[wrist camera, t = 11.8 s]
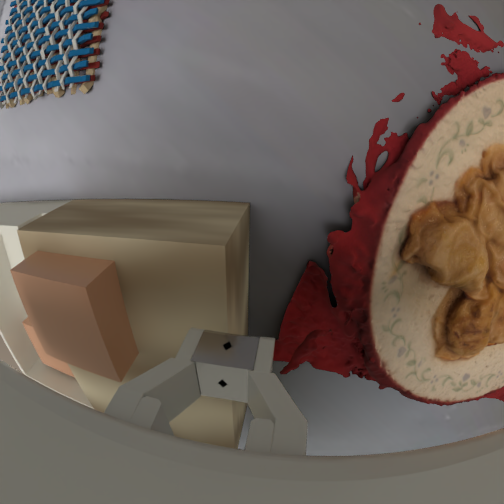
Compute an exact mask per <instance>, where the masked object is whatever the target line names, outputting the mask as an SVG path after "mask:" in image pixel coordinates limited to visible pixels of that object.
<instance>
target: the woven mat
mask: <svg viewBox="0 0 504 504" xmlns="http://www.w3.org/2000/svg"><path fill="white" fill-rule="evenodd" d="M108 4H109V0H16V1H13V2H11V4H10V6H11V7H12V6H15V7H14V8H13V9H12V10H11V12H10V15H9V16H12V15H13V16H12V17H11V18H10V19H9V20H6V23H5V24H6V25H7V24H9V26H8V27H7V28H6V31H5V34H7V33H8V34H7V35H6V37H5V38H3V39H2V40H1V43H4V45H5V46H3V47H2V50H1V53H3V55H2V57H1V58H0V63H1V64H2V66H0V72H1V71H2V74H1V76H0V83H1V84H2V86H0V93H1V94H0V107H1V109H2V108H3V107H4V106H5V104H6V108H9V106H10V107H11V108H13V107H14V106H15V105H16V104H17V103H18V100H20V105H22V104H25V103H27V104H28V103H29V102H30V101H31V100H32V99H34V100H36V99H37V98H38V97H40V96H43V94H44V91H45V93H47V94H52V93H53V94H54V95H55V96H56V97H58V98H60V97H61V96H62V95H63V94H64V93H65V91H64V89H65V87H67V86H69V85H70V86H69V88H71V94H75V93H76V87H77V84H79V83H82V85H81V86H80V88H79V90H81V91H82V92H83V93H84V94H85V93H86V92H87V91H89V89H90V88H91V87H92V85H93V82H94V81H95V75H94V74H95V68H99V65H100V61H99V62H96V60H97V55H100V49H99V42H100V41H101V37H102V36H101V32H102V29H103V26H104V23H102V20H104V19H105V18H107V17H108V14H109V12H107V11H106V9H107V5H108ZM13 13H14V14H13ZM88 22H89V23H88ZM65 28H67V29H65ZM91 31H92V33H89V34H86V33H88V32H91ZM89 44H90V48H84V47H85V46H86V45H89ZM24 45H25V46H24ZM40 48H41V50H40ZM81 48H84V49H81ZM16 49H17V50H16ZM33 51H34V52H33ZM59 52H60V53H59ZM31 53H32V54H31ZM84 57H88V60H84V61H81V58H84ZM16 58H17V60H16ZM40 59H41V60H40ZM69 61H71V62H70V63H69ZM57 64H58V65H57ZM46 68H47V70H46ZM14 69H15V70H14ZM85 69H86V75H80V76H79V71H80V70H85ZM13 70H14V71H13ZM12 71H13V72H12ZM29 73H30V75H29ZM68 73H69V74H70V77H67V75H68ZM13 79H14V82H13ZM43 80H45V81H44V83H43ZM35 93H37V94H36V95H35ZM2 95H3V96H2ZM2 102H3V105H2Z"/></svg>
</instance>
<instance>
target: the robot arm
mask: <svg viewBox="0 0 504 504" xmlns="http://www.w3.org/2000/svg"><path fill="white" fill-rule="evenodd" d="M274 346H275V338H270V337H257V336H247V335H239V334H230V333H223V332H217V331H211V330H203V329H198V328H193V327H192V328H191V329H189V331H188V333H187V335H186V337H185V339H184V341H183V343H182V345H181V347H180V349H179V351H178V353H177V355H176V357H175V358H169V359H168V360H166V361H164V362H162V363H161V364H159V365H157V366H155V367H154V368H152V369H150V370H148V371H147V372H145V373H143V374H141V375H139V376H138V377H136V378H134V379H132V380H130V381H128V382H127V383H125V384H123V385H121V386H119V388H118V390H117V391H116V393H115V395H114V396H113V398H112V400H111V401H110V403H109V405H108V406H107V408H106V410H105V412H104V413H102V412H100V411H97V410H95V409H93V408H90V407H88V406H86V405H83V404H81V403H79V402H77V401H74V400H72V399H70V398H68V397H66V396H64V395H62V394H60V393H58V392H56V391H54V390H52V389H50V388H48V387H46V386H44V385H42V384H40V383H39V382H37V381H35V380H33V379H32V378H30V377H28V376H26V375H25V374H23V373H21V372H20V371H18V370H16V369H15V368H13V367H12V366H10V365H8V364H7V363H5V362H4V361H2V360H1V359H0V504H504V428H503V429H500V430H497V431H494V432H490V433H487V434H484V435H481V436H477V437H473V438H470V439H466V440H462V441H458V442H454V443H449V444H445V445H440V446H435V447H429V448H423V449H417V450H411V451H403V452H395V453H385V454H374V455H357V456H306V443H307V420H306V419H305V417H304V416H303V414H302V413H301V411H300V410H299V409H298V407H297V406H296V404H295V403H294V401H293V400H292V398H291V397H290V395H289V394H288V392H287V391H286V389H285V388H284V386H283V385H282V383H281V382H280V380H279V379H278V377H277V376H276V374H275V373H272V366H273V356H274ZM200 395H202V396H208V397H215V398H222V399H228V400H233V401H239V402H245V403H248V406H249V408H250V410H251V412H252V414H253V416H254V419H253V420H252V421H251V423H250V428H249V433H248V437H247V442H246V446H245V450H241V449H234V448H228V447H222V446H217V445H212V444H207V443H202V442H197V441H193V440H188V439H184V438H180V437H176V436H174V434H173V431H172V429H171V426H170V424H169V422H170V421H171V420H173V419H174V418H175V417H176V416H178V415H179V414H180V413H181V412H183V411H184V410H185V409H186V408H187V407H189V406H190V405H191V404H192V403H194V402H195V401H196V400H197V399H198V398H199V397H201V396H200Z"/></svg>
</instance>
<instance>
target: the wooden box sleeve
mask: <svg viewBox="0 0 504 504" xmlns="http://www.w3.org/2000/svg"><path fill="white" fill-rule="evenodd" d="M249 219H250V203H243V202H223V201H198V200H162V199H81V200H72V201H70V202H68V203H66V204H64V205H62V206H60V207H58V208H56V209H54V210H52V211H51V212H49V213H47V214H45V215H43V216H41V217H39V218H38V219H36V220H34V221H32V222H30V223H29V224H27V225H25V226H23V227H22V228H20V229H18V230H17V233H18V237H19V241H20V245H21V248H22V252H23V255H24V259H26V258H28V257H29V256H30V255H32V254H33V253H35V252H36V251H44V252H51V253H58V254H65V255H73V256H81V257H88V258H96V259H104V260H112V261H115V266H116V271H117V275H118V280H119V284H120V288H121V292H122V296H123V300H124V304H125V308H126V312H127V315H128V319H129V322H130V326H131V329H132V333H133V336H134V339H135V343H136V346H137V349H138V352H139V354H138V355H137V357H136V359H135V360H134V362H133V364H132V365H131V367H130V368H129V370H128V372H127V373H126V375H125V377H124V378H123V380H122V382H117V381H114V380H111V379H108V378H105V377H103V376H100V375H97V374H94V373H91V372H89V371H86V370H83V369H81V368H78V367H76V366H73V365H71V364H68V363H67V364H68V366H69V367H70V369H71V371H72V373H73V375H74V377H75V378H76V380H77V382H78V384H79V385H80V387H81V389H82V390H83V392H84V394H85V395H86V397H87V399H88V400H89V402H90V403H91V405H92V406H93V408H94V409H95V410H97V411H100V412H102V413H104V412H105V410H106V408H107V406H108V405H109V403H110V401H111V400H112V398H113V396H114V395H115V393H116V391H117V390H118V388H119V386H121V385H123V384H125V383H127V382H128V381H130V380H132V379H134V378H136V377H138V376H139V375H141V374H143V373H145V372H147V371H148V370H150V369H152V368H154V367H155V366H157V365H159V364H161V363H162V362H164V361H166V360H168V359H169V358H175V357H176V355H177V353H178V351H179V349H180V347H181V345H182V343H183V341H184V339H185V337H186V335H187V333H188V331H189V329H191V328H192V327H193V328H198V329H203V330H211V331H217V332H223V333H230V334H239V335H247V336H248V290H249ZM200 396H201V397H199V398H198V399H197V400H196V401H195V402H194V403H192V404H191V405H190V406H189V407H187V408H186V409H185V410H184V411H183V412H181V413H180V414H179V415H178V416H176V417H175V418H174V419H173V420H171V421H170V422H169V424H170V426H171V429H172V431H173V434H174V436H176V437H180V438H184V439H188V440H193V441H197V442H202V443H207V444H212V445H217V446H222V447H228V448H234V449H238V444H239V440H240V435H241V430H242V426H243V421H244V417H245V412H246V407H247V403H245V402H239V401H233V400H228V399H222V398H215V397H208V396H202V395H200Z"/></svg>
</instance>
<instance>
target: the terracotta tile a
mask: <svg viewBox="0 0 504 504" xmlns="http://www.w3.org/2000/svg"><path fill="white" fill-rule="evenodd" d="M22 323H23V326H24V328H25V330H26V332H27V334H28V336H29V338H30V340H31V342H32V344H33V346H34V348H35V350H36V352H37V353H38V355H39V357H40V359H41V361H42V362H43V363H44V364H46V365H48V366H50V367H52V368H54V369H56V370H59V371H61V372H63V373H65V374H67V375H70V376H72V377H74V375H73V373H72V371H71V369H70V367H69V366H68V364H67V363H66V362H63V361H61V360H58V359H56V358H54V357H52V356H49V355H47V354H46V353H45V351H44V349H43V347H42V345H41V343H40V341H39V339H38V337H37V335H36V333H35V331H34V329H33V326H32V324H31V322H30V320H29V318H28V317H27V318H26V319H25V320H24V321H23V322H22ZM74 378H75V377H74Z"/></svg>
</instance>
